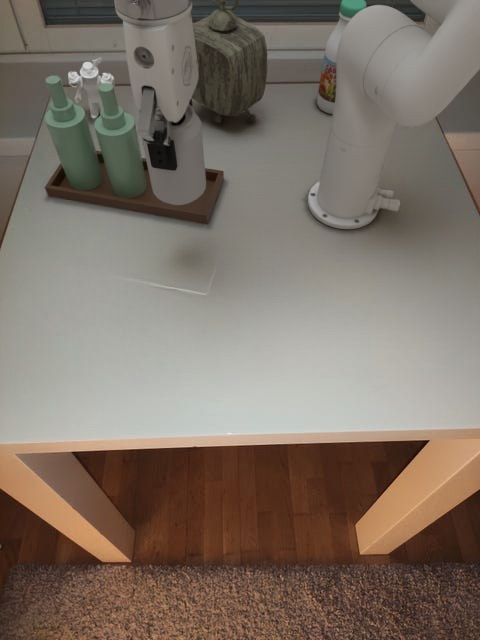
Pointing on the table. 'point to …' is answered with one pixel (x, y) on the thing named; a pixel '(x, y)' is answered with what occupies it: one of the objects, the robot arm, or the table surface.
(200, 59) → the tabletop clock
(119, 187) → the bottle
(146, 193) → the tray
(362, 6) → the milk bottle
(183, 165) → the can
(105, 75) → the hat wearing toy figure
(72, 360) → the table surface
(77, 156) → the bottle
